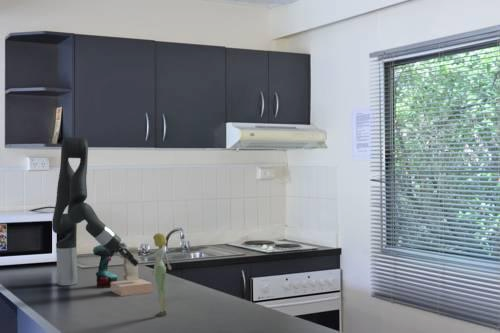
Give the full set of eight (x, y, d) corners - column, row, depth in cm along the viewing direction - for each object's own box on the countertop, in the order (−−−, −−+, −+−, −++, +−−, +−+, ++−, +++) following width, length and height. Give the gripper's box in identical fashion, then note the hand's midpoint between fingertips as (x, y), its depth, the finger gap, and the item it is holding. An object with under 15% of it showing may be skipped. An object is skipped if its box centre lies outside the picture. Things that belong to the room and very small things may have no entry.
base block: (110, 291, 307) (110, 282, 307) (141, 287, 314) (140, 278, 314) (121, 296, 295) (121, 286, 295) (152, 292, 302) (152, 283, 302)
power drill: (124, 288, 314) (123, 243, 314) (91, 287, 318) (89, 243, 317) (130, 285, 321) (129, 241, 321) (97, 284, 325) (96, 241, 325)
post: (123, 279, 305) (122, 247, 305) (134, 278, 308) (133, 246, 308) (127, 280, 301) (126, 248, 301) (138, 279, 303) (137, 247, 303)
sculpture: (164, 311, 263) (162, 231, 262) (175, 311, 261) (173, 231, 261) (146, 318, 251) (144, 235, 250) (158, 319, 249) (156, 235, 249)
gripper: (118, 233, 294) (146, 259, 300) (108, 230, 307) (134, 255, 313) (106, 246, 292) (134, 272, 298) (96, 243, 304) (123, 268, 310)
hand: (134, 263), depth 305 cm, fingers closed on post, 4 cm apart
